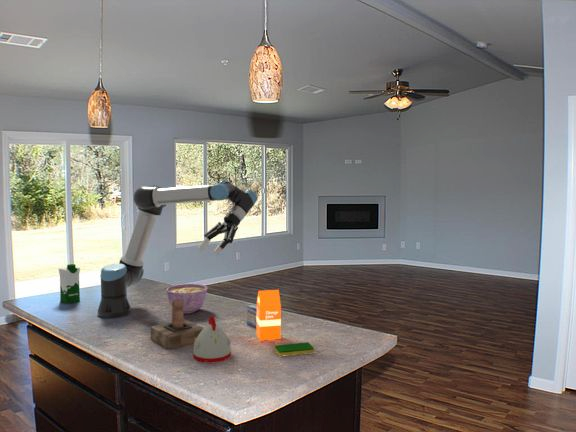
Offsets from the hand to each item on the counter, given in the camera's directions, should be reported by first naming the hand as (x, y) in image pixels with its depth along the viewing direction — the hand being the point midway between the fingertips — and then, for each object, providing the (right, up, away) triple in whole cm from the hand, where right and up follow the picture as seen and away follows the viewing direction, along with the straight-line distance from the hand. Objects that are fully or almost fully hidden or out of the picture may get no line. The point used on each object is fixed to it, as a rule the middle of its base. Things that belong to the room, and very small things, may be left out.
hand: (207, 251), depth 216 cm
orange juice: (+29, -35, -18) cm, 49 cm away
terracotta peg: (-8, -34, -22) cm, 42 cm away
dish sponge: (+39, -37, -34) cm, 64 cm away
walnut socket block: (-8, -34, -22) cm, 42 cm away
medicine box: (+22, -33, -3) cm, 40 cm away
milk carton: (-79, -29, +35) cm, 91 cm away
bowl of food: (-13, -31, +19) cm, 39 cm away
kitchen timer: (+8, -36, -39) cm, 54 cm away
